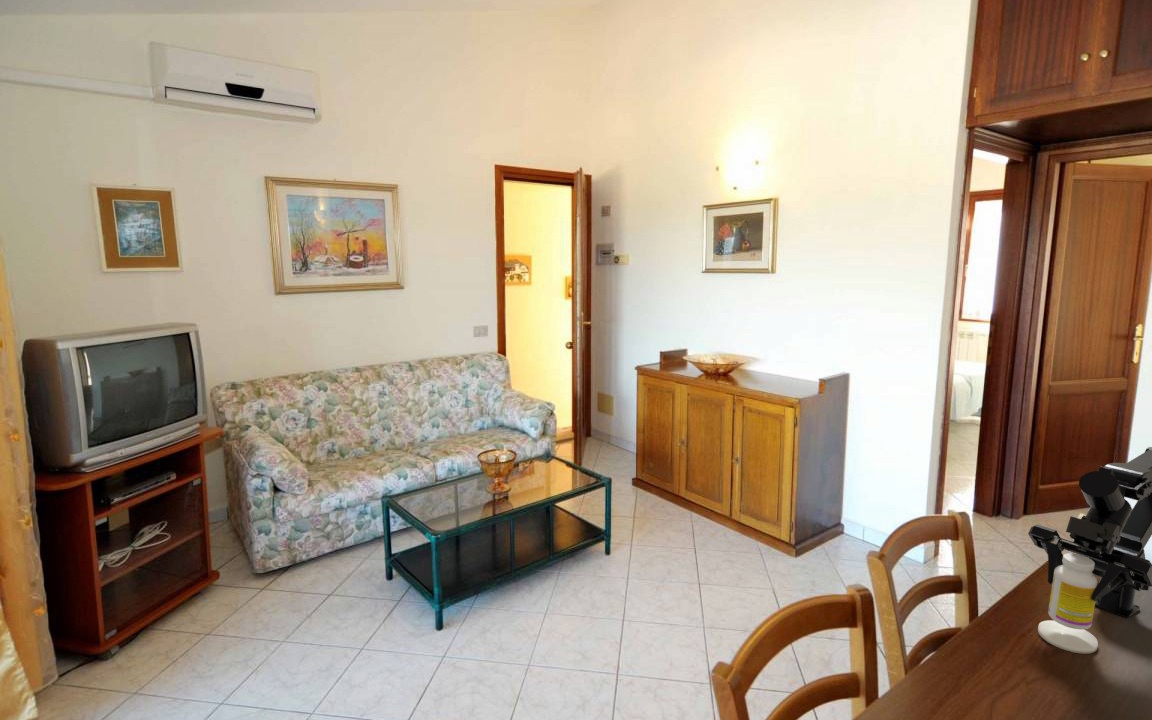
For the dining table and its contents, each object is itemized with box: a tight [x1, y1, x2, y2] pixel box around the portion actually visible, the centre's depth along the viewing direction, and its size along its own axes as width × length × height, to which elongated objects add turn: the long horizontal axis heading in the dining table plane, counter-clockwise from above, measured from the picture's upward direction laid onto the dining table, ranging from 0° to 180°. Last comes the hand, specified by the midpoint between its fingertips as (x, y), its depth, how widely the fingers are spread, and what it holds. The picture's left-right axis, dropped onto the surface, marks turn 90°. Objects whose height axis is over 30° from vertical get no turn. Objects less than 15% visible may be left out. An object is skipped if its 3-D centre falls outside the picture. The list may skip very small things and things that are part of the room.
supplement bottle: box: [1047, 552, 1100, 630], centre depth 117 cm, size 7×7×13 cm
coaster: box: [1037, 619, 1099, 655], centre depth 119 cm, size 9×9×1 cm
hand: (1070, 591), depth 116 cm, fingers closed on supplement bottle, 7 cm apart
